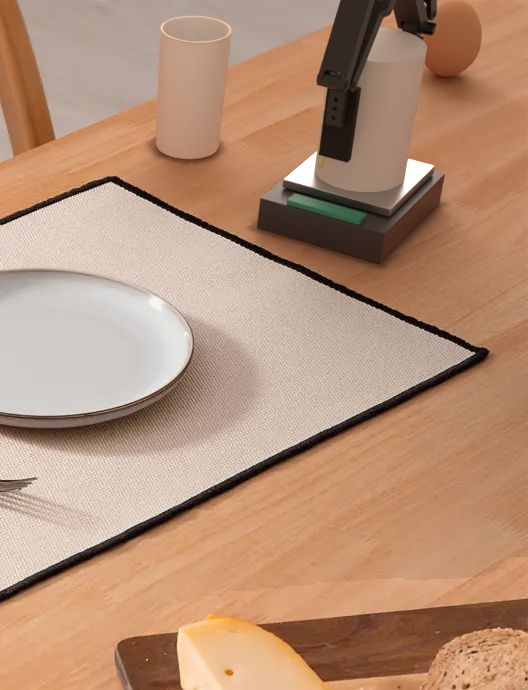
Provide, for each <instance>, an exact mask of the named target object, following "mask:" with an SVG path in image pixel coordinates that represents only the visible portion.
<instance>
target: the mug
mask: <svg viewBox="0 0 528 690" xmlns="http://www.w3.org/2000/svg"><path fill="white" fill-rule="evenodd" d="M159 30H160V32H159V43H158V44H159V45H158V73H157V97H156V98H157V99H156V116H155V117H156V118H155V119H156V120H155V146H156V148H157V150H158V151H159V152H160V153H161V154H164V155H165V156H168V157H171V158H175V159H179V160H199V159H205V158H207V157H210V156H212V155H214V154H215V153H216V152H217V151H218V149H219V145H220V138H221V130H222V123H223V113H224V106H225V105H224V103H225V95H226V87H227V86H226V85H227V78H228V69H229V60H230V52H231V42H232V41H231V38H232V28H231V26H230V25H229V24H228V23H226V22H225V21H223V20H221V19H217V18H214V17H209V16H203V15H184V16H177V17H173V18H169V19H167V20H165V21H164V22H163V23H162V24H161V25H160V29H159Z"/></svg>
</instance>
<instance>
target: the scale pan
mask: <svg viewBox="0 0 528 690" xmlns="http://www.w3.org/2000/svg"><path fill="white" fill-rule="evenodd" d="M314 152H315V153H314ZM314 152H313V153H314V154H313V153H312V154H313V155H312V154H311V155H312V156H311V155H310V156H308V157H309V158H308V157H307V158H308V159H307V158H306V159H307V160H306V159H305V160H306V161H305V160H304V161H302V162H301V163H302V164H301V163H300V164H301V165H300V164H299V165H300V166H299V165H298V166H299V167H298V166H296V169H295V168H294V169H295V170H294V169H293V170H294V171H293V170H292V171H293V172H292V171H290V172H289V173H290V174H289V173H288V174H289V175H288V174H287V175H288V176H287V175H286V176H287V177H286V176H284V177H283V178H282V179H283V186H282V187H284V188H288V189H291V190H295V191H298V192H302V193H306V194H309V195H313V196H316V197H320V198H323V199H327V200H330V201H334V202H338V203H341V204H345V205H348V206H352V207H355V208H359V209H362V210H366V211H370V212H373V213H377V214H380V215H384V216H387V217H390V216H391V215H392V214H393V213H394V212H395V211H396V210H397V209H398V208H399V207H400V206H401V205H402V204H403V203H404V202H405V201H406V200H407V199H408V198H409V197H410V196H411V195H412V194H413V193H414V192H415V191H416V190H417V189H418V188H419V187H420V186H421V185H422V184H423V183H424V182H425V181H426V180H427V179H429V178H430V177H431V176H432V175H433V174H434V171H436V170H435V169H436V165H434V164H430V163H426V162H422V161H418V160H415V159H410V158H408V163H407V168H406V174H405V179H404V181H403V182H402V183H401V184H400V185H399V186H397V187H395V188H393V189H390V190H386V191H381V192H354V191H348V190H343V189H340V188H336V187H334V186H331V185H329V184H327V183H325V182H324V181H322V180H321V179H320V178H319V177H318V176H317V175H316V173H315V162H316V154H317V150H315V151H314Z"/></svg>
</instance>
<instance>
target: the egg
mask: <svg viewBox="0 0 528 690" xmlns="http://www.w3.org/2000/svg"><path fill="white" fill-rule="evenodd" d="M428 22H432V23H436V29H435V32H434V34H433V36H429V35H425V34H421V37H424V38H423V41H424V42H425V43H426V45H427V52H426V57H425V63H424V66H426V68H427V69H428V70H429V71H430V72H432V74H435V75H437V76H439V77H442V78H443V77H444V78H449V77H455V76H457V75H460V74H461V73H463V72H465V71H466V70H467V69H468V68H469V67H470V66H472V64H473V63H474V62H475V61H476V59H477V58H478V55H479V53H480V50H481V46H482V39H483V29H482V25H481V20H480V17H479V15H478V14H477V11H476V9H475V8H474V7H473V5H471V4H470V3H469V2H467V1H465V0H446V1H444V2H442V3H440V4H439V5H437V15H436V17H435V19H434V20H433V21H430V20H428Z"/></svg>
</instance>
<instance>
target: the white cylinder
mask: <svg viewBox="0 0 528 690" xmlns="http://www.w3.org/2000/svg"><path fill="white" fill-rule="evenodd" d="M426 52H427V45H426V43H425V42H424V41H423V40H422V39H420V38H419V37H417V36H415V35H413V34H410V33H408V32H405V31H402V29H398V28H391V27H384V26H380V28H379V30H378V33H377V35H376V38H375V41H374V43H373V46H372V48H371V51H370V53H369V56H368V58H367V61H366V63H365V66H364V68H363V71H362V74H361V76H360V79H359V81H358V84H357V87H361V94H360V100H359V107H358V114H357V121H356V128H355V135H354V141H353V148H352V155H351V160H350V161H349V162H343V161H339V160H335V159H332V158H328V157H324V156H320V155H319V148H320V140H321V132H322V125H323V117H324V110H325V102H326V95H327V87H324V92H323V93H324V94H323V102H322V109H321V116H320V125H319V133H318V139H317V146H316V151H317V154H316V162H315V173H316V175H317V176H318V177H319V178H320V179H321V180H322V181H324V182H325V183H327V184H329V185H331V186H334V187H336V188H340V189H343V190H348V191H354V192H381V191H386V190H390V189H393V188H395V187H397V186H399V185H400V184H401V183H402V182H403V181H404V179H405V174H406V168H407V163H408V159H409V156H410V150H411V145H412V140H413V132H414V127H415V121H416V116H417V110H418V104H419V97H420V92H421V85H422V82H423V81H422V79H423V74H424V68H425V64H424V63H425V57H426ZM338 73H339V72H338Z"/></svg>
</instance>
